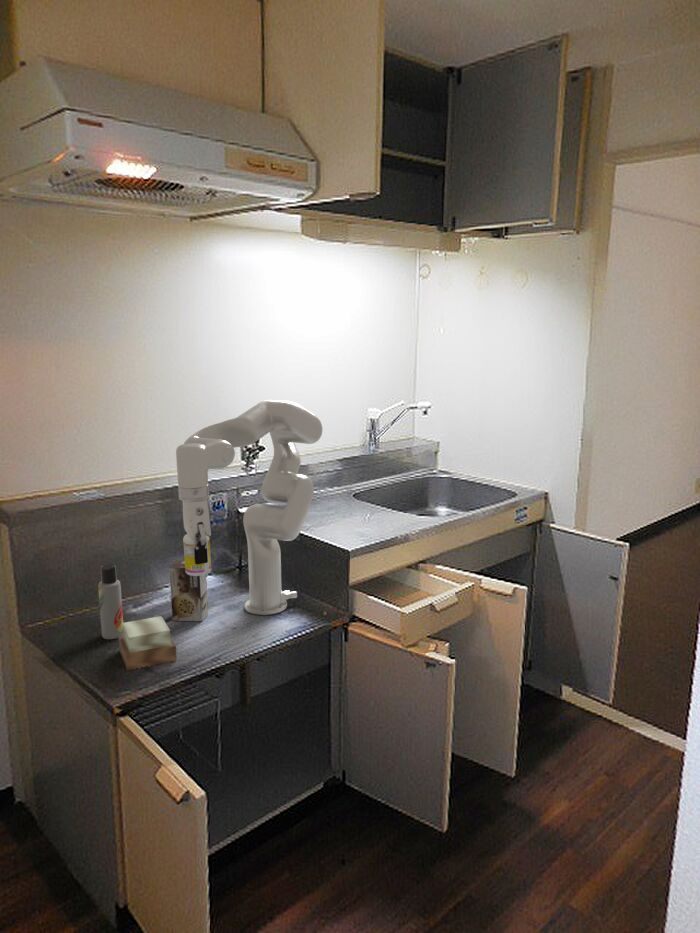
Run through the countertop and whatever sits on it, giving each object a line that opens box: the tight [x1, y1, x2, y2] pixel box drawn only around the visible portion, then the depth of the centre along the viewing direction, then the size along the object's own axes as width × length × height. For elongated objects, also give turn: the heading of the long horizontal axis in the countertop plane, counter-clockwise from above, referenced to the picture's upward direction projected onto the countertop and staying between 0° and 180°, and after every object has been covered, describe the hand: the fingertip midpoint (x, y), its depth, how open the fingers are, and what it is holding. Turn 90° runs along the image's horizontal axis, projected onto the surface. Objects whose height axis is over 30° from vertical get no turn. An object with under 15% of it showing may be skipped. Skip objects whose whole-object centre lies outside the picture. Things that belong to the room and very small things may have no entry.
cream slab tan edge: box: [118, 615, 177, 671], centre depth 185 cm, size 12×12×8 cm
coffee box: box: [168, 560, 209, 622], centre depth 208 cm, size 9×6×16 cm
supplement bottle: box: [182, 526, 212, 576], centre depth 187 cm, size 7×7×13 cm
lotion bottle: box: [97, 563, 124, 640], centre depth 196 cm, size 6×6×20 cm
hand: (197, 558), depth 188 cm, fingers closed on supplement bottle, 6 cm apart
